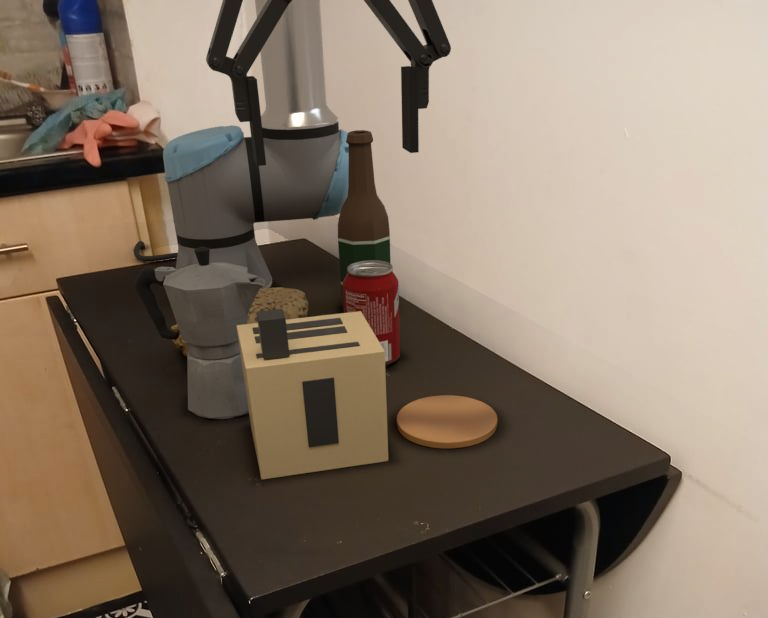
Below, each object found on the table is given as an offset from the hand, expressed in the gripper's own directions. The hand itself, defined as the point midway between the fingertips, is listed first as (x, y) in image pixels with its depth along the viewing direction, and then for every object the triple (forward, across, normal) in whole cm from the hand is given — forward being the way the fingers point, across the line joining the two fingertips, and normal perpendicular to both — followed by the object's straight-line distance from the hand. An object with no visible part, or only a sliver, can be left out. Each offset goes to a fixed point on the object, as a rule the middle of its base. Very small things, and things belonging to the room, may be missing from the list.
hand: (336, 156), depth 70 cm
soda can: (+28, +7, +18) cm, 34 cm away
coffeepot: (+28, -14, +12) cm, 34 cm away
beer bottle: (+28, +10, +36) cm, 47 cm away
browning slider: (+16, -8, -4) cm, 18 cm away
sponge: (+28, -8, +28) cm, 41 cm away
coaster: (+28, +10, -1) cm, 30 cm away
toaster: (+28, -4, -1) cm, 28 cm away
